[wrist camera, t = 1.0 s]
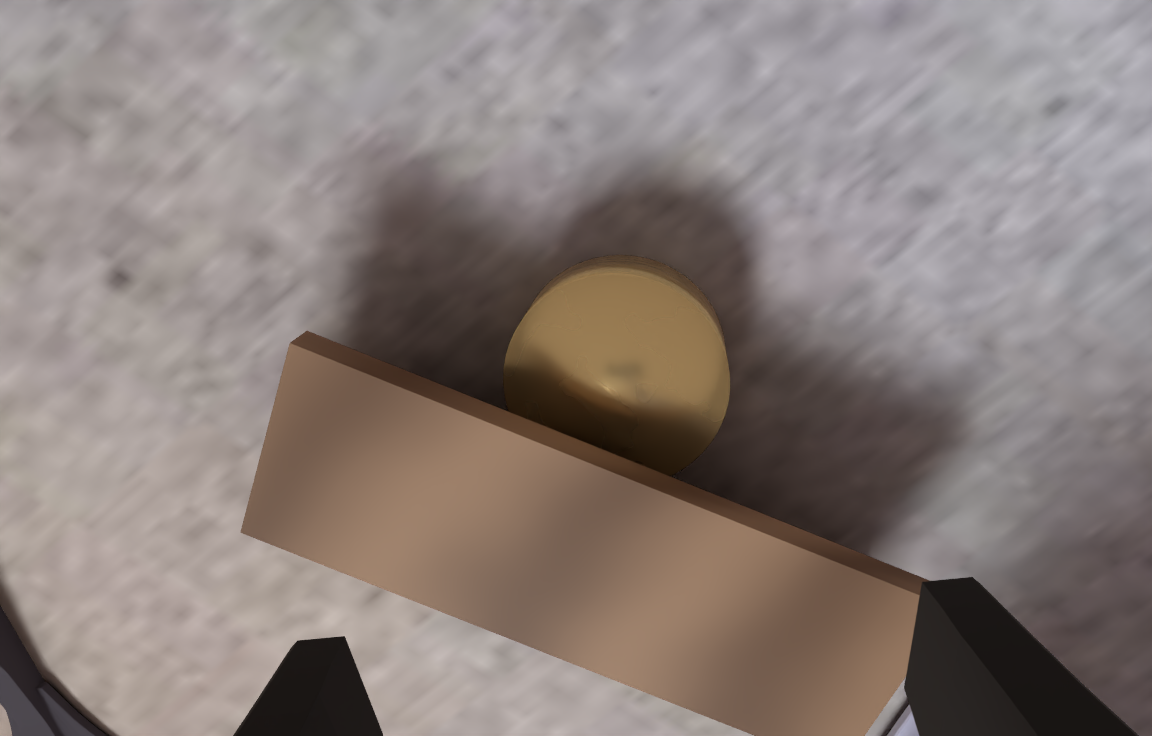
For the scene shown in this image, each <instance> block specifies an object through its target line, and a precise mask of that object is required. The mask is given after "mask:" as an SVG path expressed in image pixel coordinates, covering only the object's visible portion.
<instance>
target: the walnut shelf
mask: <svg viewBox="0 0 1152 736" xmlns="http://www.w3.org/2000/svg"><path fill="white" fill-rule="evenodd" d="M241 533H243V534H246V535H248V536H251V537H253V538H256V539H258V540H261V541H263V542H266V543H268V544H271V545H274V546H276V547H279V548H281V549H284V550H286V551H289V552H291V553H294V554H296V555H299V556H301V557H304V558H306V559H309V560H311V561H314V562H317V563H319V564H322V565H324V566H327V567H329V568H332V569H334V570H337V571H339V572H342V573H344V574H347V575H349V576H352V577H355V578H357V579H360V580H362V581H365V582H367V583H370V584H372V585H375V586H377V587H380V588H382V589H385V590H387V591H390V592H392V593H395V594H398V595H400V596H403V597H405V598H408V599H410V600H413V601H415V602H418V603H420V604H423V605H425V606H428V607H430V608H433V609H436V610H438V611H441V612H443V613H446V614H448V615H451V616H453V617H456V618H458V619H461V620H463V621H466V622H468V623H471V624H473V625H476V626H479V627H481V628H484V629H486V630H489V631H491V632H494V633H496V634H499V635H501V636H504V637H506V638H509V639H511V640H514V641H517V642H519V643H522V644H524V645H527V646H529V647H532V648H534V649H537V650H539V651H542V652H544V653H547V654H549V655H552V656H554V657H557V658H560V659H562V660H565V661H567V662H570V663H572V664H575V665H577V666H580V667H582V668H585V669H587V670H590V671H592V672H595V673H598V674H600V675H603V676H605V677H608V678H610V679H613V680H615V681H618V682H620V683H623V684H625V685H628V686H630V687H633V688H635V689H638V690H641V691H643V692H646V693H648V694H651V695H653V696H656V697H658V698H661V699H663V700H666V701H668V702H671V703H673V704H676V705H679V706H681V707H684V708H686V709H689V710H691V711H694V712H696V713H699V714H701V715H704V716H706V717H709V718H711V719H714V720H716V721H719V722H722V723H724V724H727V725H729V726H732V727H734V728H737V729H739V730H742V731H744V732H747V733H749V734H752V735H754V736H865V734H866V733H867V731H868V730H869V728H870V727H871V726H872V724H873V723H874V721H875V720H876V718H877V717H878V716H879V714H880V713H881V711H882V710H883V708H884V707H885V706H886V704H887V703H888V701H889V700H890V698H891V697H892V695H893V694H894V693H895V691H896V690H897V688H898V687H899V685H900V684H901V683H902V681H903V680H904V678H905V677H906V674H907V668H908V662H909V656H910V650H911V644H912V638H913V632H914V626H915V620H916V614H917V608H918V602H919V597H920V591H921V585H922V582H926V581H929V580H927V579H924V578H922V577H919V576H917V575H914V574H912V573H909V572H907V571H904V570H902V569H899V568H897V567H894V566H892V565H889V564H887V563H884V562H882V561H879V560H877V559H874V558H872V557H869V556H867V555H864V554H862V553H859V552H857V551H854V550H852V549H849V548H847V547H844V546H842V545H839V544H837V543H834V542H832V541H829V540H827V539H824V538H822V537H819V536H817V535H814V534H812V533H809V532H807V531H804V530H802V529H799V528H797V527H794V526H792V525H789V524H787V523H784V522H782V521H780V520H777V519H775V518H772V517H770V516H767V515H765V514H762V513H760V512H757V511H755V510H752V509H750V508H747V507H745V506H742V505H740V504H737V503H735V502H732V501H730V500H727V499H725V498H722V497H720V496H717V495H715V494H712V493H710V492H707V491H705V490H702V489H700V488H697V487H695V486H692V485H690V484H687V483H685V482H682V481H680V480H677V479H675V478H672V477H670V476H667V475H665V474H662V473H660V472H657V471H655V470H652V469H650V468H647V467H645V466H642V465H640V464H637V463H635V462H633V461H630V460H628V459H625V458H623V457H620V456H618V455H615V454H613V453H610V452H608V451H605V450H603V449H600V448H598V447H595V446H593V445H590V444H588V443H585V442H583V441H580V440H578V439H575V438H573V437H570V436H568V435H565V434H563V433H560V432H558V431H555V430H553V429H550V428H548V427H545V426H543V425H540V424H538V423H535V422H533V421H530V420H528V419H525V418H523V417H520V416H518V415H515V414H513V413H510V412H508V411H505V410H503V409H500V408H498V407H495V406H493V405H490V404H488V403H486V402H483V401H481V400H478V399H476V398H473V397H471V396H468V395H466V394H463V393H461V392H458V391H456V390H453V389H451V388H448V387H446V386H443V385H441V384H438V383H436V382H433V381H431V380H428V379H426V378H423V377H421V376H418V375H416V374H413V373H411V372H408V371H406V370H403V369H401V368H398V367H396V366H393V365H391V364H388V363H386V362H383V361H381V360H378V359H376V358H373V357H371V356H368V355H366V354H363V353H361V352H358V351H356V350H353V349H351V348H348V347H346V346H343V345H341V344H339V343H336V342H334V341H331V340H329V339H326V338H324V337H321V336H319V335H316V334H314V333H311V332H309V331H306V332H305V333H303V334H302V335H300V336H299V337H298V338H296V339H295V340H293V341H292V342H291V343H290V344H289V348H288V352H287V356H286V360H285V363H284V367H283V371H282V375H281V379H280V383H279V387H278V390H277V394H276V398H275V402H274V406H273V410H272V413H271V417H270V421H269V425H268V429H267V433H266V436H265V440H264V444H263V448H262V452H261V456H260V459H259V463H258V467H257V471H256V475H255V479H254V483H253V486H252V490H251V494H250V498H249V502H248V506H247V509H246V513H245V517H244V521H243V525H242V529H241Z"/></svg>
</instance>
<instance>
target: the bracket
mask: <svg viewBox="0 0 1152 736" xmlns="http://www.w3.org/2000/svg"><path fill="white" fill-rule="evenodd" d="M0 703H1V705H2V706H3V707H4V708H5V710H6V712H7V715H8V718H9V722H10V725H11V730H12V736H107V735H106V734H105V733H103V732H102V731H101V730H99V729H98V728H97V727H95V726H94V725H93V724H91V723H90V722H89V721H88V720H87V719H85V718H84V717H83V716H82V715H81V714H79V713H78V712H77V711H76V710H75V709H74V708H73V707H72V706H71V705H70V704H69V703H68V702H67V701H66V700H65V699H64V698H63V697H62V696H60V695H59V694H58V693H57V692H56V691H55V690H54V689H53V688H52V687H51V686H50V685H49V684H48V683H46V682H45V681H44V679H43V678H42V676H41V675H40V673H39V671H38V670H37V668H36V666H35V664H34V663H33V661H32V659H31V657H30V656H29V654H28V652H27V651H26V649H25V647H24V645H23V644H22V642H21V640H20V639H19V637H18V635H17V633H16V632H15V630H14V628H13V627H12V625H11V623H10V621H9V620H8V618H7V616H6V614H5V613H4V611H3V609H2V608H1V606H0Z"/></svg>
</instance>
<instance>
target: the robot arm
mask: <svg viewBox="0 0 1152 736" xmlns="http://www.w3.org/2000/svg"><path fill="white" fill-rule="evenodd" d="M904 689H905V692H906V695H907V698H908V701H909V705H908V707H907V708H906V709H905V711H904V712H903V714H902V715H901V716H900V718H899V719H898V721H897V722H896V723H895V725H894V726H893V728H892V729H891V730H890V732H889V733H888V735H887V736H1139V735H1137V734H1136V733H1135V732H1134V731H1133V730H1132V729H1131V728H1130V727H1129V726H1128V725H1126V724H1125V723H1124V722H1123V721H1122V720H1121V719H1120V718H1119V717H1118V716H1117V715H1116V714H1114V713H1113V712H1112V711H1111V710H1110V709H1109V708H1108V707H1107V706H1106V705H1105V704H1103V703H1102V702H1101V701H1100V700H1099V699H1098V698H1097V697H1096V696H1095V695H1094V694H1093V693H1092V692H1091V691H1090V690H1088V689H1087V688H1086V687H1085V686H1084V685H1083V684H1082V683H1081V682H1080V681H1079V680H1078V679H1077V678H1076V677H1075V676H1074V675H1073V674H1072V673H1071V672H1070V671H1068V670H1067V669H1066V668H1065V667H1064V666H1063V665H1062V664H1061V663H1060V662H1059V661H1058V660H1057V659H1056V658H1055V657H1054V656H1053V655H1052V654H1051V653H1050V652H1049V651H1048V650H1047V649H1046V648H1045V647H1044V646H1043V645H1042V644H1041V643H1040V642H1039V641H1038V640H1037V639H1036V638H1034V637H1033V636H1032V635H1031V634H1030V633H1029V632H1028V631H1027V630H1026V629H1025V628H1024V627H1023V626H1022V625H1021V624H1020V623H1019V622H1018V621H1017V620H1016V619H1015V618H1014V617H1013V616H1012V615H1011V614H1010V613H1009V612H1008V611H1007V610H1006V609H1005V608H1004V607H1003V606H1002V605H1001V604H1000V603H999V602H998V601H997V600H996V599H995V598H994V597H993V596H992V595H991V594H990V593H989V592H988V591H987V590H986V589H985V588H984V587H983V586H982V585H981V584H980V583H979V582H978V581H976V580H975V579H974V578H973V577H969V578H958V579H948V580H937V581H926V582H922V585H921V591H920V597H919V602H918V608H917V614H916V620H915V626H914V632H913V638H912V644H911V650H910V656H909V662H908V668H907V674H906V680H905V686H904ZM233 736H383V733H382V731H381V728H380V725H379V723H378V720H377V718H376V715H375V713H374V710H373V708H372V705H371V702H370V700H369V697H368V695H367V692H366V690H365V687H364V685H363V682H362V679H361V677H360V674H359V672H358V669H357V667H356V664H355V662H354V659H353V656H352V654H351V651H350V649H349V646H348V644H347V641H346V638H345V636H343V637H332V638H321V639H311V640H300V641H297V642H296V643H295V644H294V645H293V646H292V647H291V649H290V650H289V652H288V653H287V655H286V656H285V658H284V659H283V661H282V663H281V664H280V666H279V667H278V669H277V670H276V672H275V673H274V675H273V676H272V678H271V679H270V681H269V682H268V684H267V685H266V687H265V689H264V690H263V692H262V693H261V695H260V696H259V698H258V699H257V701H256V702H255V704H254V705H253V707H252V708H251V710H250V711H249V713H248V714H247V716H246V717H245V719H244V720H243V722H242V723H241V725H240V726H239V728H238V729H237V731H236V732H235V734H234V735H233Z"/></svg>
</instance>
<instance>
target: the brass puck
mask: <svg viewBox="0 0 1152 736" xmlns="http://www.w3.org/2000/svg"><path fill="white" fill-rule="evenodd" d="M503 386H504V394H505V399H506V403H507V407H508V410H509V412H510V413H513V414H515V415H518V416H520V417H523V418H525V419H528V420H530V421H533V422H535V423H538V424H540V425H543V426H545V427H548V428H550V429H553V430H555V431H558V432H560V433H563V434H565V435H568V436H570V437H573V438H575V439H578V440H580V441H583V442H585V443H588V444H590V445H593V446H595V447H598V448H600V449H603V450H605V451H608V452H610V453H613V454H615V455H618V456H620V457H623V458H625V459H628V460H630V461H633V462H635V463H637V464H640V465H642V466H645V467H647V468H650V469H652V470H655V471H657V472H660V473H662V474H665V475H667V476H671V475H673V474H675V473H677V472H678V471H680V470H682V469H684V468H685V467H686V466H688V465H689V464H690V463H692V462H693V461H694V460H695V459H696V458H697V457H699V456H700V455H701V454H702V453H703V452H704V451H705V449H706V448H707V447H708V446H709V444H710V443H711V442H712V441H713V439H714V437H715V436H716V434H717V432H718V431H719V429H720V427H721V424H722V422H723V420H724V417H725V414H726V410H727V406H728V403H729V394H730V373H729V366H728V360H727V353H726V347H725V341H724V335H723V331H722V328H721V325H720V321H719V319H718V317H717V315H716V313H715V311H714V308H713V307H712V305H711V304H710V302H709V301H708V299H707V298H706V296H705V295H704V294H703V293H702V292H701V291H700V290H699V288H698V287H697V286H696V285H695V284H693V283H692V282H691V281H690V280H689V279H688V278H687V277H685V276H684V275H682V274H681V273H679V272H678V271H676V270H675V269H673V268H671V267H669V266H666V265H664V264H662V263H660V262H657V261H654V260H651V259H647V258H642V257H637V256H628V255H612V256H603V257H598V258H593V259H590V260H587V261H584V262H581V263H578V264H576V265H574V266H572V267H570V268H568V269H566V270H565V271H563V272H562V273H560V274H559V275H557V276H556V277H555V278H554V279H553V280H551V281H550V282H549V283H548V284H547V285H546V286H545V287H544V288H543V289H542V291H541V292H540V293H539V294H538V295H537V297H536V298H535V300H534V301H533V303H532V305H531V306H530V308H529V309H528V311H527V312H526V314H525V316H524V317H523V319H522V320H521V322H520V324H519V325H518V327H517V328H516V330H515V332H514V334H513V336H512V338H511V341H510V343H509V346H508V349H507V353H506V356H505V362H504V369H503Z"/></svg>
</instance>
